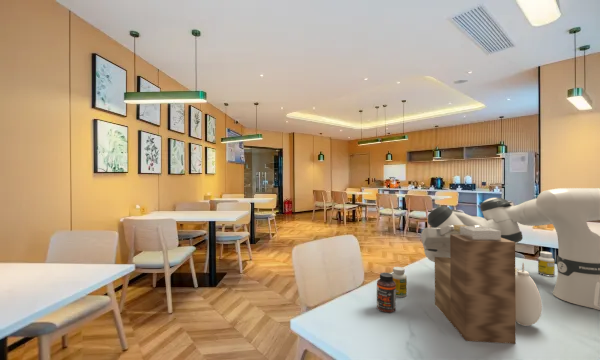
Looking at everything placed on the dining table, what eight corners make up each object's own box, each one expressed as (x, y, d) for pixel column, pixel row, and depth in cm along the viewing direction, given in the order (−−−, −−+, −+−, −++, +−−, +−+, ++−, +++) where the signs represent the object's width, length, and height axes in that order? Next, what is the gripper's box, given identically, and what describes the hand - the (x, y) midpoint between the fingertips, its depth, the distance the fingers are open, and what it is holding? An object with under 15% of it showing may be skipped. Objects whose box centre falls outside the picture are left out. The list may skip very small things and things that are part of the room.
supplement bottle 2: (397, 290, 103) (397, 265, 103) (409, 295, 99) (409, 269, 99) (388, 293, 100) (388, 267, 100) (400, 298, 96) (400, 271, 96)
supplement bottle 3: (535, 272, 123) (534, 250, 123) (548, 272, 122) (548, 251, 122) (544, 276, 118) (543, 254, 118) (558, 277, 117) (557, 254, 117)
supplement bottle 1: (375, 311, 87) (375, 276, 87) (377, 303, 92) (377, 270, 92) (395, 314, 85) (395, 278, 85) (395, 306, 90) (395, 272, 90)
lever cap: (470, 229, 87) (470, 222, 87) (501, 240, 71) (500, 231, 71) (447, 229, 87) (447, 221, 87) (472, 240, 72) (472, 230, 72)
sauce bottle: (500, 317, 83) (499, 258, 83) (526, 317, 82) (526, 258, 83) (520, 331, 75) (519, 266, 75) (549, 332, 75) (548, 266, 75)
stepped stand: (472, 306, 90) (472, 227, 90) (515, 343, 69) (515, 242, 69) (434, 304, 92) (434, 227, 92) (466, 340, 71) (465, 241, 71)
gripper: (481, 251, 92) (504, 238, 81) (419, 249, 95) (432, 237, 83) (476, 233, 96) (497, 218, 84) (416, 232, 98) (428, 217, 86)
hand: (464, 227), depth 83 cm, fingers open, 6 cm apart
